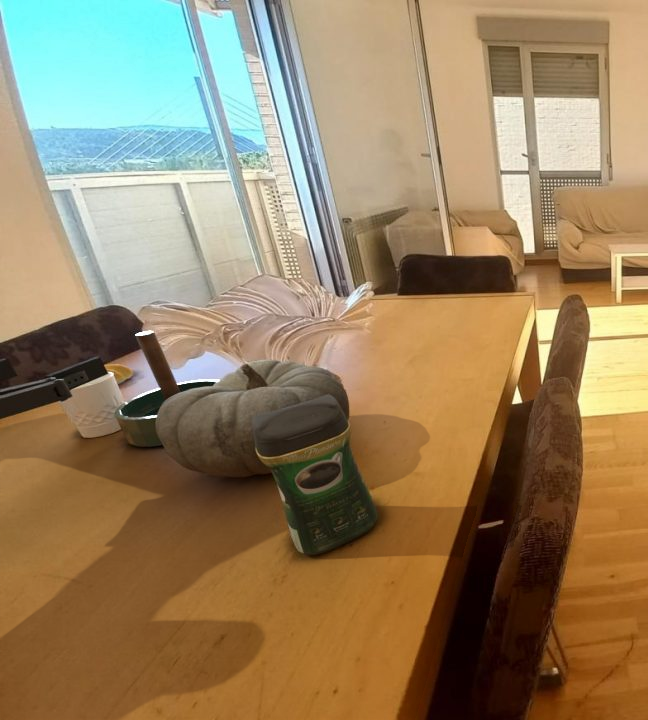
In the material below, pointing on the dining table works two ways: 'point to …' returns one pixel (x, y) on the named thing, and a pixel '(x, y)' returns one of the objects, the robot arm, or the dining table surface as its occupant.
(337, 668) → the dining table surface
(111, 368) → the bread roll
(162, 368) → the stirring stick
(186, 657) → the dining table surface
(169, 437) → the gourd
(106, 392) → the white cup
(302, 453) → the coffee jar
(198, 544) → the dining table surface
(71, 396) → the robot arm
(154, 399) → the bowl
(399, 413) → the dining table surface
